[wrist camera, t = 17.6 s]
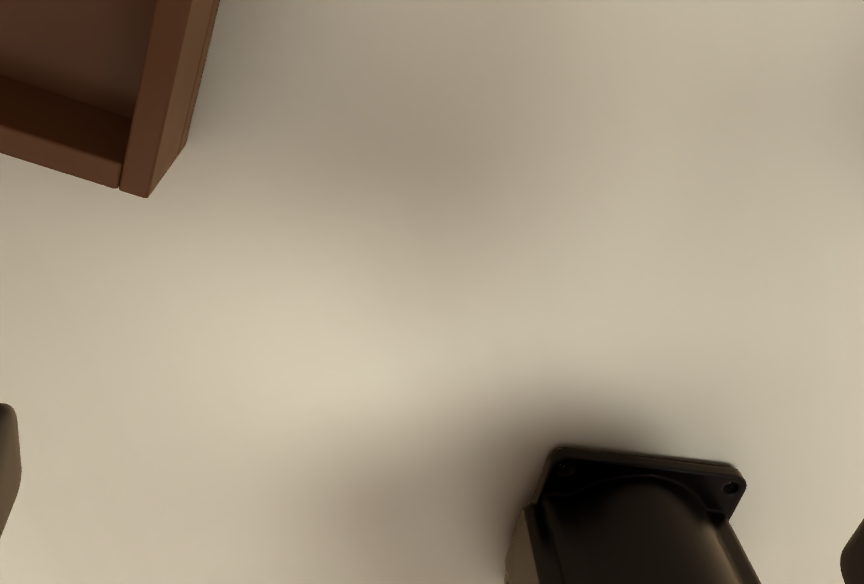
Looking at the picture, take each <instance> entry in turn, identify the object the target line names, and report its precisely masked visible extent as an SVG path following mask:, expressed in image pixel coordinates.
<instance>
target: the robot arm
mask: <svg viewBox="0 0 864 584" xmlns="http://www.w3.org/2000/svg"><path fill="white" fill-rule="evenodd" d="M563 463H569V464H567V465H566V466H559V465H561V464H563ZM21 472H22V470H21V457H20V446H19V435H18V424H17V416H16V413H15V411H14V409H13V408H12V407H11V406H10V405H8V404H4V403H0V538H1V535H2V532H3V530H4V527H5V525H6V522H7V520H8V517H9V514H10V512H11V509H12V507H13V504H14V502H15V499H16V496H17V493H18V490H19V486H20V481H21ZM730 482H731V483H730ZM728 483H730V484H728ZM726 484H728V485H726ZM746 486H747V485H746V481H745V479H744V478H743V476H742V474H741V473H740V472H739V471H738V470H737V469H735V468H731V467H722V466H714V465H706V464H697V463H689V462H681V461H672V460H664V459H656V458H647V457H639V456H631V455H622V454H614V453H606V452H597V451H589V450H581V449H573V448H560V449H557V450H555V451H553V452H552V453H551V454H550V455H549V456H548V458H547V461H546V464H545V466H544V469H543V472H542V475H541V478H540V480H539V483H538V486H537V489H536V492H535V494H534V497H533V500H532V503H528V504H527V505H526V506H525V507H524V508H523V509H522V512H521V515H520V518H519V520H518V523H517V526H516V529H515V532H514V535H513V538H512V540H511V543H510V546H509V549H508V552H507V555H506V557H505V565H506V571H507V573H506V576H505V580H504V583H505V584H761V582H760V580H759V578H758V576H757V575H756V573H755V571H754V569H753V567H752V565H751V563H750V561H749V559H748V557H747V555H746V554H745V552H744V550H743V548H742V546H741V544H740V542H739V540H738V538H737V536H736V534H735V532H734V531H733V529H732V527H731V525H730V523H729V519H730V518H731V516H732V514H733V512H734V510H735V508H736V506H737V505H738V503H739V501H740V499H741V497H742V495H743V493H744V492H745V489H746ZM840 566H841V572H842V576H843V579H844V582H845V584H864V519H863V521H862V522H861V523H860V525H859V526H858V528H857V529H856V531H855V532H854V534H853V535H852V537H851V538H850V540H849V541H848V543H847V544H846V546H845V547H844V549H843V551H842V554H841V560H840Z"/></svg>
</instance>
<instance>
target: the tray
mask: <svg viewBox="0 0 864 584" xmlns="http://www.w3.org/2000/svg"><path fill="white" fill-rule="evenodd" d="M219 2H220V0H0V153H3V154H6V155H9V156H12V157H15V158H18V159H22V160H25V161H28V162H31V163H34V164H38V165H41V166H44V167H47V168H50V169H54V170H57V171H60V172H63V173H66V174H69V175H73V176H76V177H79V178H82V179H85V180H89V181H92V182H95V183H98V184H101V185H105V186H108V187H111V188H118V187H119V190H121V191H124V192H127V193H130V194H133V195H136V196H140V197H143V198H148V197H149V195H150V194H151V193H152V191H153V190H154V188H155V187H156V186H157V184H158V183H159V181H160V180H161V179H162V177H163V176H164V174H165V173H166V172H167V170H168V169H169V167H170V166H171V165H172V163H173V162H174V160H175V159H176V157H177V156H178V155H179V154H180V152H181V151H182V149H183V148H184V147H185V144H186V140H187V136H188V132H189V127H190V123H191V119H192V115H193V111H194V107H195V102H196V98H197V94H198V90H199V86H200V82H201V77H202V73H203V69H204V65H205V61H206V56H207V52H208V48H209V44H210V40H211V36H212V31H213V27H214V23H215V19H216V15H217V10H218V6H219Z"/></svg>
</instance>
